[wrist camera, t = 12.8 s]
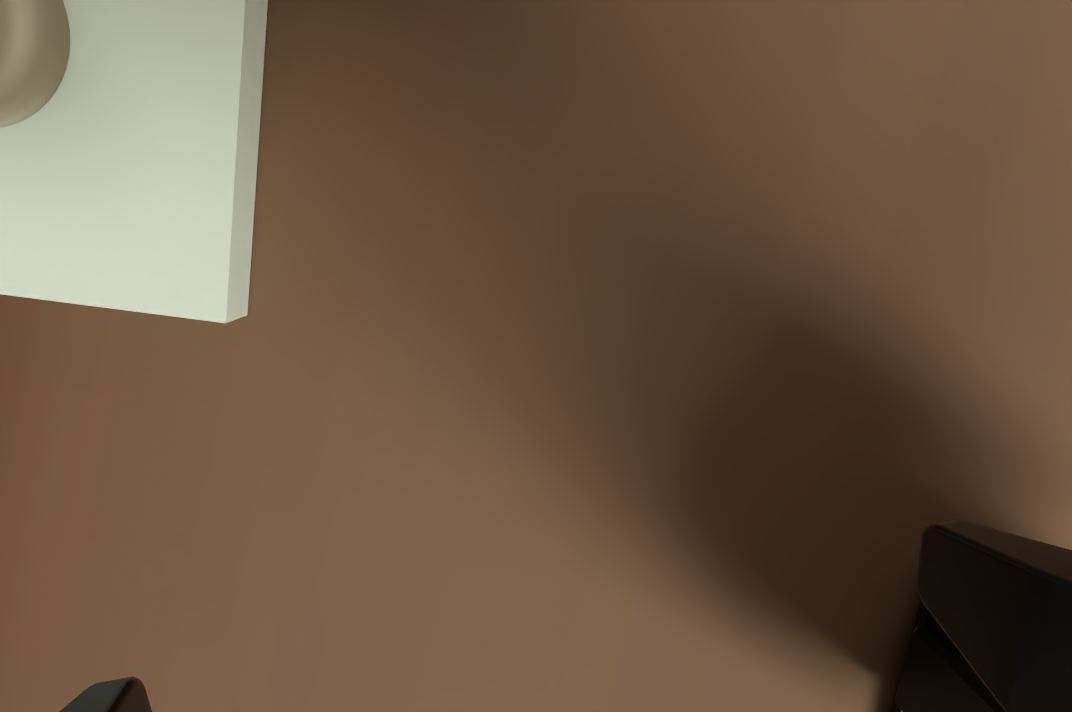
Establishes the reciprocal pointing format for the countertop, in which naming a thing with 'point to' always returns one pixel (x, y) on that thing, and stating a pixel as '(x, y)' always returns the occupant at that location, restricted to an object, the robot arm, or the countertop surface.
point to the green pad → (141, 162)
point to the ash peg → (31, 55)
